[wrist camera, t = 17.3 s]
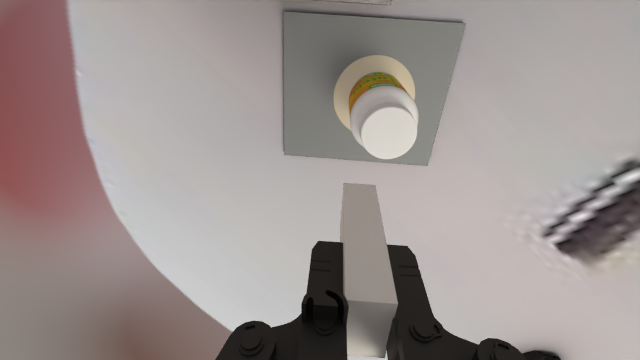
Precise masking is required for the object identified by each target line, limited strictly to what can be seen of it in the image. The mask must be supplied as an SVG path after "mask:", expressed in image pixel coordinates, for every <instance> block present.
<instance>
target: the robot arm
mask: <svg viewBox="0 0 640 360" xmlns="http://www.w3.org/2000/svg"><path fill="white" fill-rule="evenodd" d="M386 350H387V356H388V360H527V359H526V358H525V356H524V355H523V354H522V353H521V352H520V351H519V350H518V349H517V348H515V347H514V346H512V345H511V344H509V343H507V342H505V341H502V340H499V339H493V338H488V339H485V340H483V341H481V342H480V344H479V345H478V344H475V343H472V342H470V341H467V340H464V339H462V338H459V337H457V336H455V335H453V334H451V333H449V332H448V331H446V330H445V329H444V328H443V327H442V325H441V324H440V323H439V322H438V321H437V320H436V319H435V318H434V315H433V313H432V310H431V307H430V304H429V300H428V297H427V294H426V290H425V287H424V284H423V280H422V278H421V274H420V270H419V269H418V263H417V260H416V257H415V255H414V254H413V253H412V251H411V250H410V249H409V248H408V246H399V245H387V244H386V238H385V233H384V228H383V223H382V218H381V212H380V207H379V202H378V197H377V191H376V186H375V185H366V184H348V183H344V187H343V199H342V211H341V224H340V242H327V241H318V242H317V244H316V245H315V246H314V248H313V249H312V254H311V263H310V271H309V279H308V287H307V294H306V295H305V296H304V299H303V301H302V313H301V314H300V315H299V316H298V317H297V318H296V319H295V320H293V321H292V322H290V323H287V324H284V325H280V326H276V327H272V328H271V327H270V326H269V325H267V324H265V323H264V322H261V321H250V322H246V323H244V324H242V325H240V326H239V327H237V328H236V329H235V330H234V331H233V333H232V334H231V335H230V336H229V338H228V340H227V341H226V343H225V345H224V346H223V348H222V350H221V351H220V353H219V355H218V356H217V358H216V360H347V355H354V356H366V357H379V358H385V354H386Z"/></svg>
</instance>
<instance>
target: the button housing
mask: <svg viewBox="0 0 640 360" xmlns="http://www.w3.org/2000/svg"><path fill="white" fill-rule="evenodd" d="M315 1H331V2H346V3H362V4H377V5H391V4H392V0H315Z"/></svg>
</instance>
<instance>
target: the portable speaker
mask: <svg viewBox="0 0 640 360" xmlns="http://www.w3.org/2000/svg"><path fill="white" fill-rule="evenodd" d="M523 355H524V356H525V358H526V359H527V360H561V359H560V358H559V357H556V358H552V357H549V356H545V355H543V354H541V353H539V352H537V351H532V352H529V353H525V354H523Z"/></svg>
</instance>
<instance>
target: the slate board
mask: <svg viewBox="0 0 640 360" xmlns="http://www.w3.org/2000/svg"><path fill="white" fill-rule="evenodd" d="M465 25H466V23H452V22H437V21H422V20H407V19H391V18H376V17H361V16H346V15H330V14H315V13H300V12H284V155H294V156H306V157H319V158H332V159H345V160H357V161H370V162H383V163H395V164H408V165H421V166H428V162H429V159H430V155H431V151H432V148H433V144H434V140H435V136H436V133H437V129H438V125H439V122H440V118H441V114H442V111H443V107H444V103H445V99H446V96H447V92H448V88H449V85H450V81H451V77H452V73H453V70H454V66H455V62H456V59H457V55H458V51H459V47H460V44H461V40H462V36H463V33H464V29H465ZM372 72H385V73H388V74H390V75H392V76H394V77H395V78H396V79H397V80H398V81H399V82H400V83H401V85H402V86H403V87H404V88H405V90H406V91H407V92H408V94H409V95H410V96H411V97H412V99H413V100H414V102H415V104H416V106H417V109H418V125H417V137H416V140H415V142H414V144H413V146H412V147H411V148H410V149H409V150H408V151H407V152H406V153H405V154H403V155H401V156H399V157H397V158H393V159H381V158H377V157H375V156H373V155H371V154H370V153H369V152H368V151H367V150H366V149H365V148H364V147H363V146H361V145H360V144H359V143H358V142H357V141H356V139H355V138H354V136H353V134H352V131H351V127H350V114H349V95H350V91H351V89H352V87H353V85H354V84H355V83H356V82H357V80H359V79H360V78H361V77H362V76H364V75H366V74H368V73H372Z"/></svg>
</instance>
